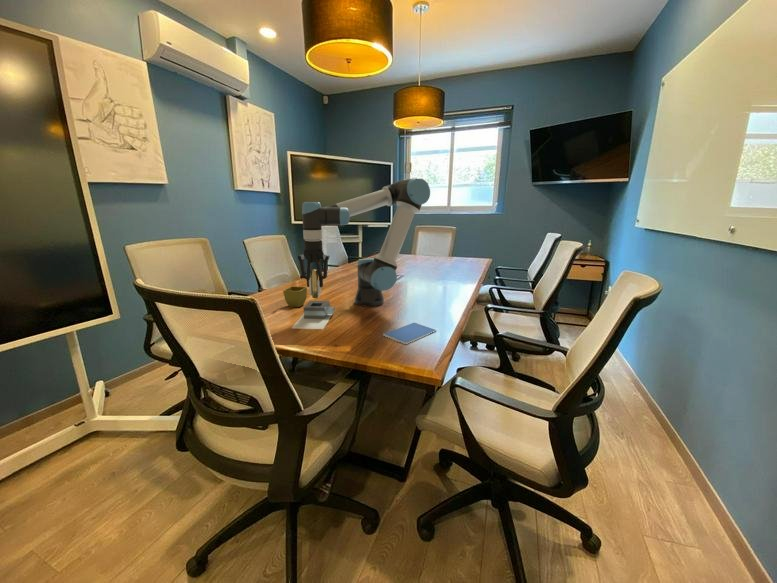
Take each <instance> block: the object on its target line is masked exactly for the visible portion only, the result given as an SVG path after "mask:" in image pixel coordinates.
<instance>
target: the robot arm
mask: <svg viewBox="0 0 777 583" xmlns="http://www.w3.org/2000/svg"><path fill="white" fill-rule="evenodd" d="M430 196H431V188H430V185H429V183H428V182H427V180H425V179H424V178H421V177H411V178H406V179H405V178H404V179H400V180H398V181H395V182H393V183H391V184H388V185H385V186H383V187H382V189H379V190H376V191H374V192H370V193H366V194H364V195H363V194H362V195H360V196H357V197H354V198H350V199H347V200H344V201H341V202H337V203H334V204H330V205H327V206H322V205H321V203H320V201H319V202H318V201H304V202H302V204H301V209H302V210H301V217H302V234H303V235H302V236H303V240H304V241H303V252H302V254H300V255H298V256H297V260H298V261H299V266H300V267H299V268H300V272H301V278H302V279H305V280H306V287H307V288H309V295H310V296H312V285H311V270H312V266H313V263H315V265H316V270H317V271H318V280H317V284H318V295H319V296H320V295H322V288H323V286H324V280H325V279H326V278H328V268H329V267H328V265H329V264H328V263H329V259H330V255H327V254H325V253H324V251H323V250H324V249H323V241H322V239H323V234H322V233H323V232H322V230H323V229H322V226H340V227H342V226H346V225H349V223H350V218H351V217H353V216H357V215H359V214H363V213H366V212H369V211H371V210H376V209H379V208H381V207H385V206H387V207H392V206H395V205H396V206H397V208H396V210H395V214H393V218H392V221H391V223H390V225H389V228H388V231H387V233H386V236H385V239H384V241H383V243H382V246H381V249H380V251H379V254H378V255H376V256H375V257H374V258H372V257H371V258H370V257H369V258H361V259H358V260H357V264H356V267H357V291H356V293H355V297H354V304H356V305H357V306H361V307H379V306H381V305H383V304H384V303H385V300H384V295H383V292H382V291H388V290H391V289H392V288H393V287H394V286H395V284H396V282H397V279H398V275H397V272H396V270H397V269H398V264H397V260H398V257H399V255H400V252H401V249H402V247H403V244H404V243H405V240H406V237H407V235H408V232H409V229H410V226H411V224H412V221H413V219H414V216H415V215H416V214H417V213H419V212H420V210H421V209H422V206H423V205H425V204H426V203H427V202H428V201H429V199H430ZM305 259H306V260H307V267H306V266H305V264H306V263H305ZM322 259H323V270H322V266H321V260H322ZM306 269H307V270H306Z"/></svg>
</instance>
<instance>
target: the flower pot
mask: <svg viewBox="0 0 777 583" xmlns="http://www.w3.org/2000/svg"><path fill="white" fill-rule="evenodd" d="M282 292H283V297H284V300H285V302H286V304H287V305H288V306H289V307H291V308H300V307H302V306H303V305H305V302H306V300H307V296H308V287H307V286H294V285H293V286H289V287H288V288H285V289H283V290H282Z"/></svg>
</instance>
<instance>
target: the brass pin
mask: <svg viewBox="0 0 777 583" xmlns="http://www.w3.org/2000/svg"><path fill="white" fill-rule="evenodd" d="M310 279H311V285H312V295H311V298H313V299H318V298H320V295H318V284H317V280H318V279H319V276H318V271H317V269H311V278H310Z"/></svg>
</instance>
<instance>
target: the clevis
mask: <svg viewBox="0 0 777 583" xmlns="http://www.w3.org/2000/svg"><path fill="white" fill-rule="evenodd" d="M330 305H331V303H330V300H309V301H308V302H307V303H306V304H304V306H303V314H304V319H325V318H326V316H327V315H328V314H332V315H333V314H334V313H335V311H336V310H335V308H336V307H335V306H330Z"/></svg>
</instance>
